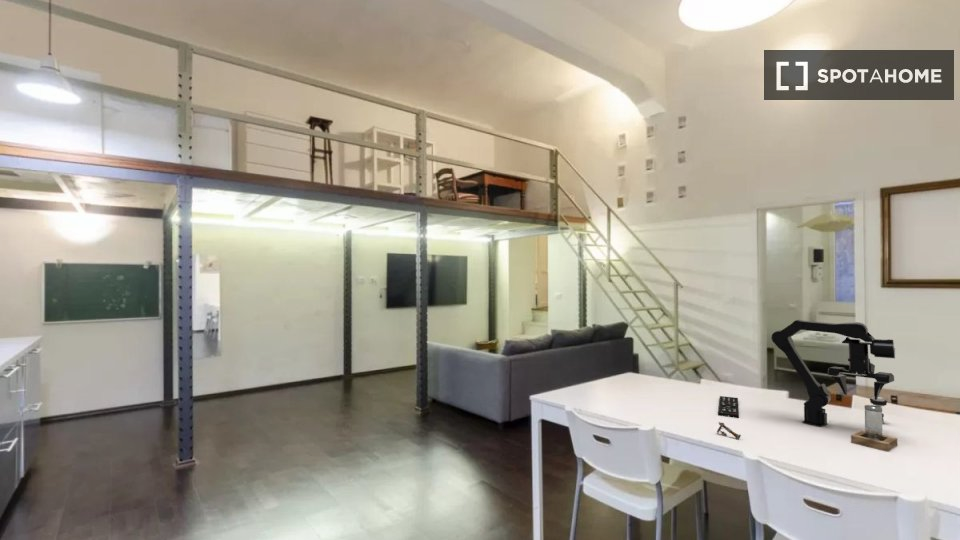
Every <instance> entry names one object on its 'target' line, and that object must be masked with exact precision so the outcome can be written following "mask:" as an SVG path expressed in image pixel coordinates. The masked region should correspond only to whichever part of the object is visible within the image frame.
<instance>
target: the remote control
mask: <svg viewBox="0 0 960 540" xmlns="http://www.w3.org/2000/svg"><path fill="white" fill-rule="evenodd" d="M718 402H719V403H718V411H717V414H718V416H719V417H720V416H721V417H728V418H736V419H740V410H739V409H740V408H739V398H738V397H732V396H723V395H722V396H721V395H719V401H718Z"/></svg>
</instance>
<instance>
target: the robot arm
mask: <svg viewBox="0 0 960 540" xmlns="http://www.w3.org/2000/svg"><path fill="white" fill-rule="evenodd" d="M801 330H803V331H810V332H811V331H812V332H819V333H831V334H838V335H840V336H844V337H845V339H843V340H842V341H841V344H847V345H848V358H847V361H848V363H849V365H848V366H849V368H848V370H847V369H846V368H845V367H840V366H831V367H828V369H827V376H831V378H834V380H835V381H836V382H837V383H838V385H839V387H840V389H841V391H842V393H843V394H844V396H847V395H848V388H847V376H851V377H852V376H853V377H859V378H866V379H867V378H868V379H873V380H875V381H874V382H873V392H874V393H873V394H874V395H873V397H875V400H877V399H878V397H880V394H881V392H882V389H883V388H884V387H885V385H888V384H890V383H893V382H895V375H894V374H893V373H892V372H885V371H884V372H883V371H878V372H875V369H876V365H875V364H873V363H871V359H870V358H869V354H871V355H873V356H874V358H883V359H896V347H895V343H894V339H877V338H875V337H874V336H873V335H872V334H870V332H869V328H868V327H867V326H866V325H865V324H864V323H862V322H843V323H841V322H840V323H832V322H824V321H810V320H804V319H796V320H793V321H792V323H790V324H788V325H787V326H786V327H785V328H783V329H780V330H779V329H778V330H776V331H774V332H773V333H772V334H771V337H770V338H771V341H772V342H773V344H775V346H776V347H777V348H778V349H779V350H781V351H782V353H783V354H785V357H787V359H788V361H789V362H790V364H791V365H792V367H793V368H794V370H795V371H796V373H797V374H798V376H799V377H800V379H801V380H802V382H803V384H804V385H805V388H806V393H807V395H808V397H809V398H808V399H806V401H804V403H803V405H804V406H803V417H804V420H802V423H804V424H808V425H812V426H813V425H814V426H817V427H823V426H825V425H828V414H827V412H826V408H824V407H825V406H827V405H828V404H829V403H830V401H831V399H832V398H831V397H832V396H831V391H830V390H829V389H828V388H827V385H826V384H825V383H822V384H820V383H819V382H818V381H817V380H816V378H815V377H814V375H813V373H811V371H810V369H809V368H808V365H806V363H805V362H804V360H803V359H802V357H801V355H800V354H799V353H798V350H797V349H796V346H795V343H794V340H793V338H792V337H793V336H794V335H796V334H797V333H798V332H800V331H801ZM861 340H862V341H861ZM863 341H864V342H863Z"/></svg>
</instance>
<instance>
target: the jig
mask: <svg viewBox="0 0 960 540" xmlns="http://www.w3.org/2000/svg"><path fill="white" fill-rule="evenodd" d="M850 443H852V444H856V445H859V446H860V445H861V446H864V447H867V448H873V449H877V450H880V451H885V452H890V451H891V450H893V449H894V448H895V447H897V445H899V444H898V443H899V440H898V437H895V436H894V437H893V436H889V435H885V434H883V441H879V440H875V439H871V438H866V437H865V430H862V429H861V430H859V431H857V432H855V433H853V434H851V435H850Z"/></svg>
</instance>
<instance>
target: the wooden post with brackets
mask: <svg viewBox="0 0 960 540" xmlns="http://www.w3.org/2000/svg"><path fill="white" fill-rule="evenodd" d="M718 424H719V427H718V429H717V431H716V433H717V434H718V433H721V435H723V436H726V437H727V436H728V435H727V433H726V432H728V433H729V434H731V435H732V436H734V437H735V440H738V439H740V438H741V437H742V434H738V433H737V432H735V431H733V430H732V429H730V427H728V426H726V425H725V422H721V421H719V422H718ZM723 429H725V430H723ZM722 430H723V431H722ZM725 431H726V432H725Z"/></svg>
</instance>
